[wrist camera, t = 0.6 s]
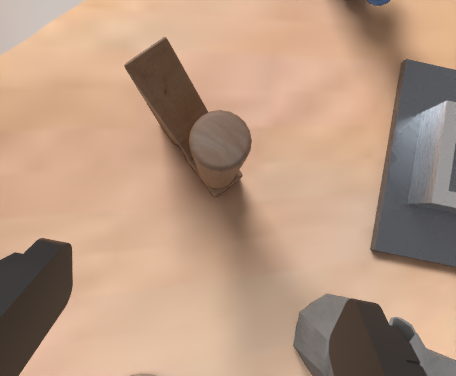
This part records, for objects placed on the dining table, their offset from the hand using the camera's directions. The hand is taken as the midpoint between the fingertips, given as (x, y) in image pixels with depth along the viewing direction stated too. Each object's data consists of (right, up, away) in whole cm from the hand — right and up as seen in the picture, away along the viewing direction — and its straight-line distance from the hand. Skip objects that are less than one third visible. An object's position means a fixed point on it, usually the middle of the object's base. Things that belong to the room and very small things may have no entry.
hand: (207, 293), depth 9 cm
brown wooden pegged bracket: (-3, +7, +27) cm, 28 cm away
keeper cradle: (+26, +5, +28) cm, 39 cm away
